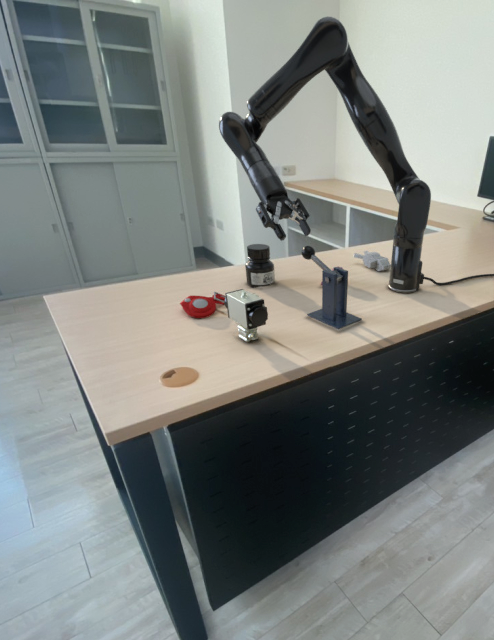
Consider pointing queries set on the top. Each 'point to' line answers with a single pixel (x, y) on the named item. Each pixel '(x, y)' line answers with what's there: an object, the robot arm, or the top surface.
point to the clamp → (334, 301)
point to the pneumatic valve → (246, 312)
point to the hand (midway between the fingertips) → (296, 236)
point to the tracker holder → (202, 305)
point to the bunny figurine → (374, 260)
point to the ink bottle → (259, 266)
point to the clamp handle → (318, 261)
